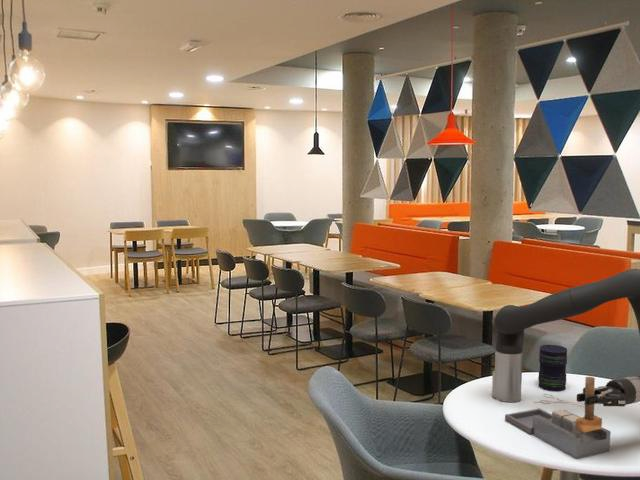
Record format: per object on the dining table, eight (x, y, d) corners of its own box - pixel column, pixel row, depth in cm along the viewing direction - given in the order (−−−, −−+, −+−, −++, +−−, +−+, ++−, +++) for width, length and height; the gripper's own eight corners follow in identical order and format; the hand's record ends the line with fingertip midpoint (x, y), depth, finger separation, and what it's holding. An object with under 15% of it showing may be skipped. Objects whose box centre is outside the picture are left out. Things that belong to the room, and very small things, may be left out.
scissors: (539, 392, 229) (598, 401, 219) (539, 394, 229) (598, 403, 219) (533, 401, 220) (595, 411, 210) (533, 404, 220) (595, 413, 210)
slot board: (532, 434, 193) (532, 415, 193) (563, 427, 198) (564, 409, 197) (576, 458, 177) (577, 438, 176) (609, 451, 181) (610, 431, 181)
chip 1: (551, 423, 191) (552, 411, 191) (561, 421, 193) (562, 409, 192) (561, 428, 187) (561, 416, 187) (571, 426, 189) (572, 413, 188)
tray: (505, 420, 204) (505, 414, 204) (539, 414, 209) (539, 408, 209) (530, 434, 193) (530, 428, 193) (565, 427, 198) (565, 421, 198)
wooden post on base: (576, 428, 181) (577, 378, 179) (593, 424, 183) (594, 374, 181) (584, 432, 178) (585, 381, 176) (601, 428, 180) (602, 377, 179)
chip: (562, 429, 187) (562, 416, 187) (572, 427, 188) (573, 414, 188) (572, 434, 183) (573, 421, 183) (583, 432, 185) (583, 419, 184)
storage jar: (571, 390, 231) (573, 351, 230) (547, 392, 229) (549, 352, 228) (556, 381, 241) (557, 343, 239) (532, 383, 239) (534, 345, 237)
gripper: (608, 371, 191) (563, 379, 184) (647, 385, 178) (601, 394, 172) (607, 395, 192) (563, 404, 185) (646, 411, 179) (600, 421, 172)
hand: (581, 399), depth 178 cm, fingers closed on wooden post on base, 2 cm apart
